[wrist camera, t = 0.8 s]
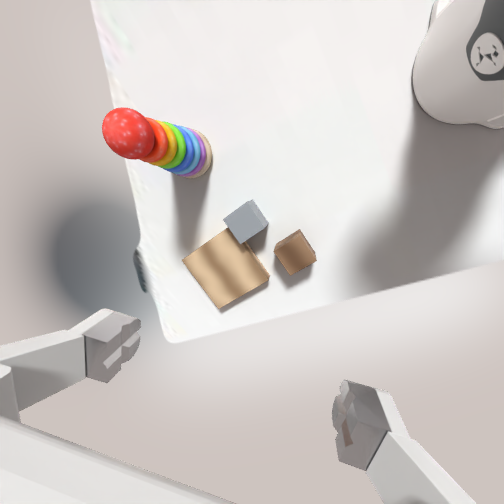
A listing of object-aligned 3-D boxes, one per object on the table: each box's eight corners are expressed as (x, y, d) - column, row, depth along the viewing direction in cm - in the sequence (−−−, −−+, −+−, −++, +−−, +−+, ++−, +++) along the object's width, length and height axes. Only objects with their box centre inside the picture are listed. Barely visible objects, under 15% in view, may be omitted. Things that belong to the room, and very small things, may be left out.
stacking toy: (217, 174, 41) (156, 169, 23) (176, 181, 43) (92, 181, 25) (208, 125, 39) (134, 79, 21) (166, 135, 41) (66, 100, 23)
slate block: (252, 199, 41) (246, 201, 37) (268, 222, 42) (264, 228, 37) (231, 215, 43) (222, 219, 38) (246, 237, 44) (240, 244, 39)
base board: (233, 223, 43) (229, 226, 41) (269, 275, 45) (268, 280, 42) (187, 256, 47) (181, 260, 45) (222, 302, 48) (218, 308, 46)
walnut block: (299, 229, 41) (299, 235, 37) (314, 251, 42) (316, 260, 37) (276, 243, 43) (273, 251, 38) (291, 265, 43) (290, 275, 39)
